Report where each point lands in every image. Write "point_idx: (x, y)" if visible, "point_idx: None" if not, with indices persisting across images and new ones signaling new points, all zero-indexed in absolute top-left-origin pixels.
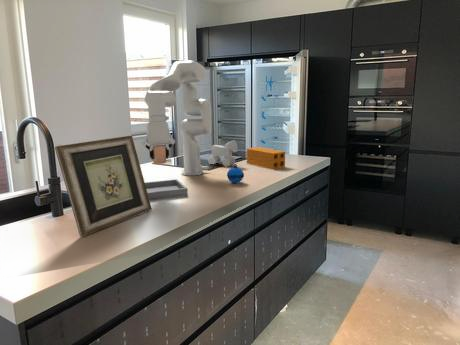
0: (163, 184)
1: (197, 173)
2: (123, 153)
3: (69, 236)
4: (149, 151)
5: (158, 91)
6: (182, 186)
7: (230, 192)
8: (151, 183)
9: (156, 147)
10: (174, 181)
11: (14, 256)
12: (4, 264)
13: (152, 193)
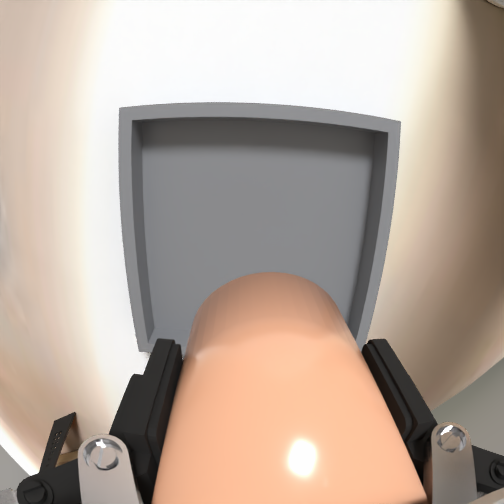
0: (300, 122)
1: (501, 4)
2: None
3: (37, 444)
4: (110, 432)
5: None
6: (363, 304)
7: (479, 339)
8: (217, 116)
9: None
10: (376, 130)
11: (9, 450)
12: (14, 459)
13: (184, 352)
